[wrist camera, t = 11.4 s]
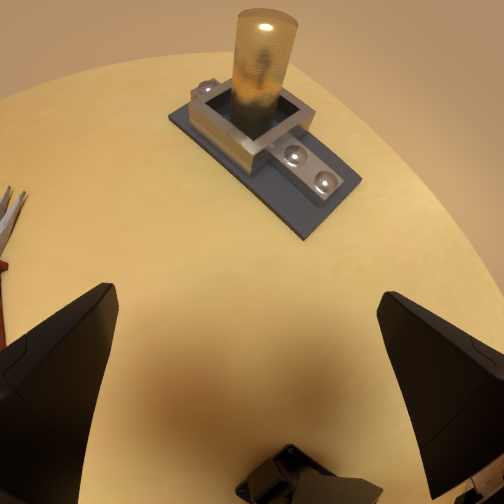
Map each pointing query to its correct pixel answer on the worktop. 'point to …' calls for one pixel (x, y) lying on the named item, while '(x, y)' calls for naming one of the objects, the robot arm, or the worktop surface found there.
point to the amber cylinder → (259, 68)
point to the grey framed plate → (264, 140)
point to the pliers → (3, 225)
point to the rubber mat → (282, 180)
